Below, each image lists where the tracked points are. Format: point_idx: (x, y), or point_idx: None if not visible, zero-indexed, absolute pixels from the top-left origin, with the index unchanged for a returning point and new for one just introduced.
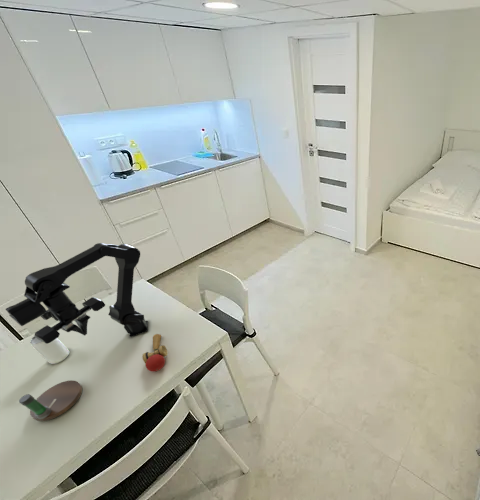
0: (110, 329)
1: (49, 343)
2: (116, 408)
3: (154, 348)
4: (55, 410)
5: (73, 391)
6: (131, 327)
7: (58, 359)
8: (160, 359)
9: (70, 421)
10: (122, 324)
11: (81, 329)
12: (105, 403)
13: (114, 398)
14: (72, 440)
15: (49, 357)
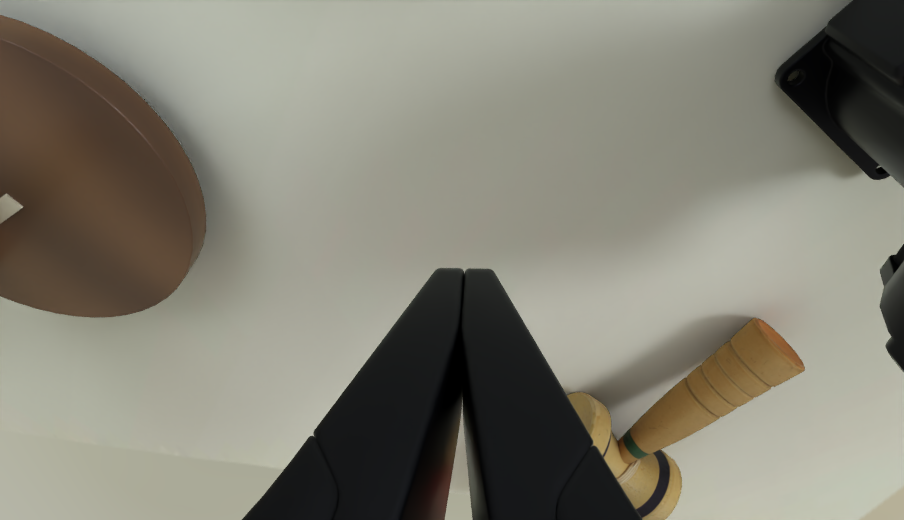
0: None
1: None
2: (297, 439)
3: (649, 447)
4: (19, 284)
5: (141, 255)
6: (892, 167)
7: None
8: None
9: (106, 330)
10: (885, 306)
11: (470, 421)
12: (273, 389)
13: (316, 402)
14: (104, 405)
15: None
